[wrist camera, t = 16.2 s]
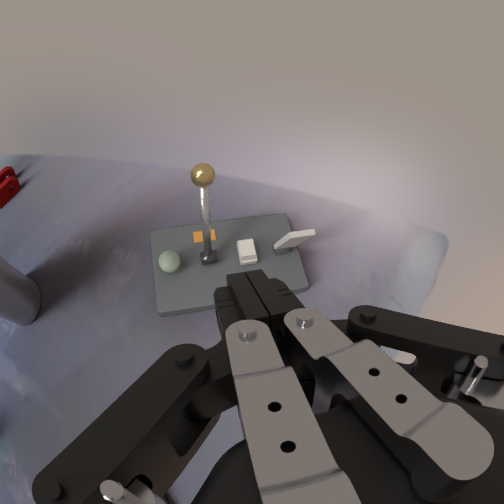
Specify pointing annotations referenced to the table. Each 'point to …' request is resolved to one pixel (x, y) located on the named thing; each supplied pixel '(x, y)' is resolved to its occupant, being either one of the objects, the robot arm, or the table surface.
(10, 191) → the mechanical linkage
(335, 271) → the table surface
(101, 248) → the table surface
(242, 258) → the white rocker switch
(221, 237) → the control panel
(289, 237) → the pale grey paddle
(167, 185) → the table surface
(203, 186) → the brass lever
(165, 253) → the push button
